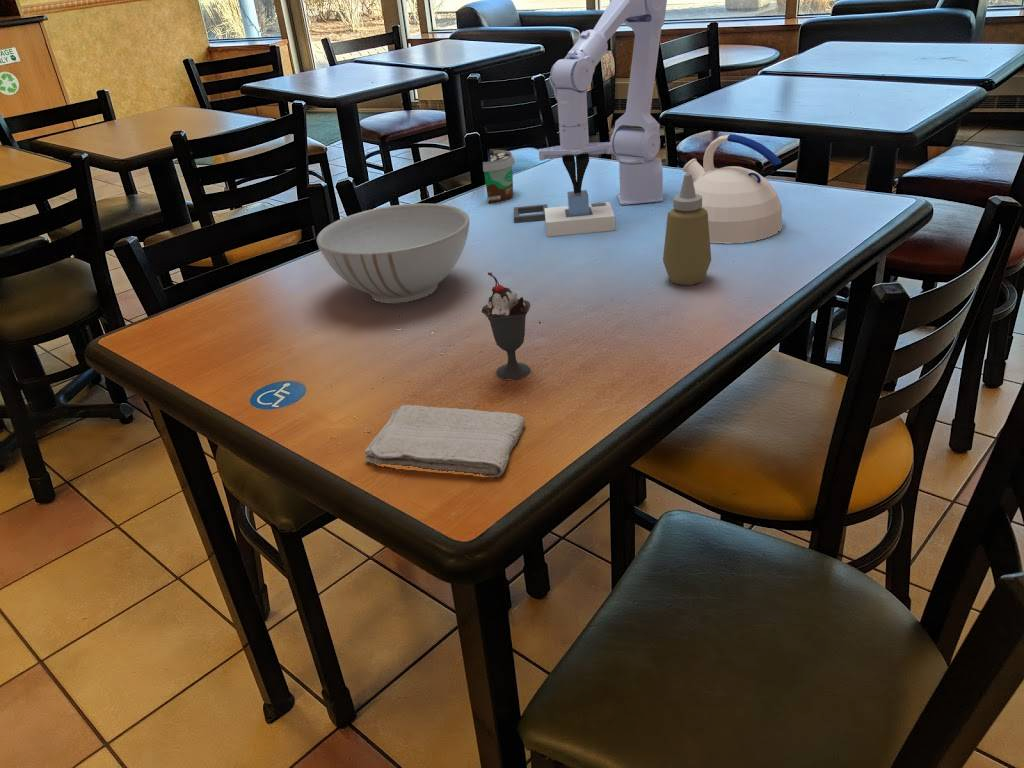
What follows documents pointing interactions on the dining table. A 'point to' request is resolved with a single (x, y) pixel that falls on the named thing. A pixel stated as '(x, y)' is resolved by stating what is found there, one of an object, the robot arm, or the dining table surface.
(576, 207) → the plug
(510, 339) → the sundae
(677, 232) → the squeeze bottle
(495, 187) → the food container
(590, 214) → the panel
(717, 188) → the kettle
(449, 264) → the decorative bowl
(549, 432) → the dining table surface
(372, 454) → the washcloth
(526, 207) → the dark square tray
